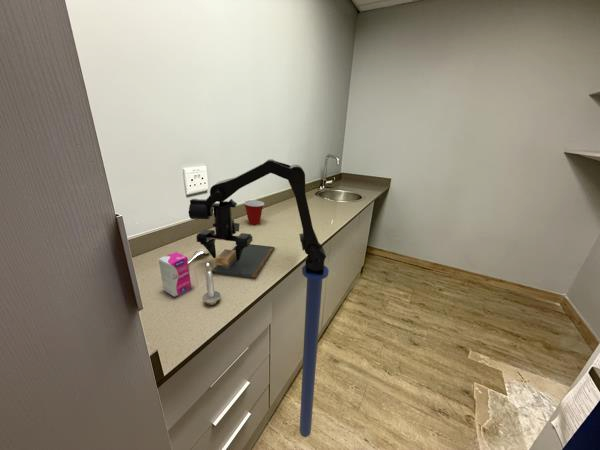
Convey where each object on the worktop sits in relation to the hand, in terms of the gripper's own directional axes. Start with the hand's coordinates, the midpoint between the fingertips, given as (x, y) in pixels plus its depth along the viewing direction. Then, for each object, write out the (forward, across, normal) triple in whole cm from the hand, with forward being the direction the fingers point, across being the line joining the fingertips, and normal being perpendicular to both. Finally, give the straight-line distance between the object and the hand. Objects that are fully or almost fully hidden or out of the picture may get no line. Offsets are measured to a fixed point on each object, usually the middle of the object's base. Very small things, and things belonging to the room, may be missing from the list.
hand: (226, 259), depth 88 cm
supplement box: (+3, +8, +17) cm, 19 cm away
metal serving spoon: (+3, +15, +2) cm, 15 cm away
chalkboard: (+3, -5, -6) cm, 8 cm away
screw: (+3, -5, +20) cm, 21 cm away
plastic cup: (+3, +6, -46) cm, 46 cm away
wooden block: (+2, 0, 0) cm, 2 cm away
